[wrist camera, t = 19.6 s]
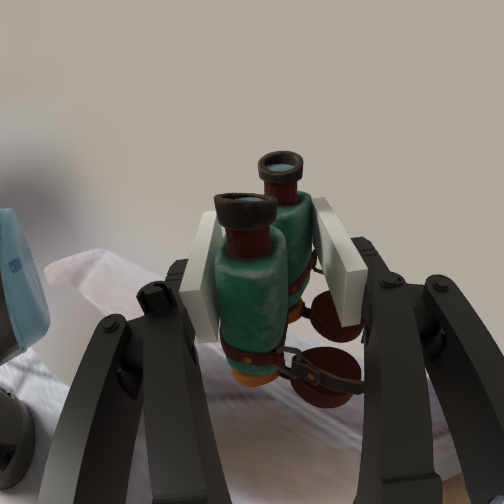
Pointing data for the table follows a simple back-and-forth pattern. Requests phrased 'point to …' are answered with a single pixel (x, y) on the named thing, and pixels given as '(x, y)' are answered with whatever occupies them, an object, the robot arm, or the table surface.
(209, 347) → the table surface
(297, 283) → the binoculars
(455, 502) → the channel
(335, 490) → the table surface
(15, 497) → the table surface
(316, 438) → the table surface
